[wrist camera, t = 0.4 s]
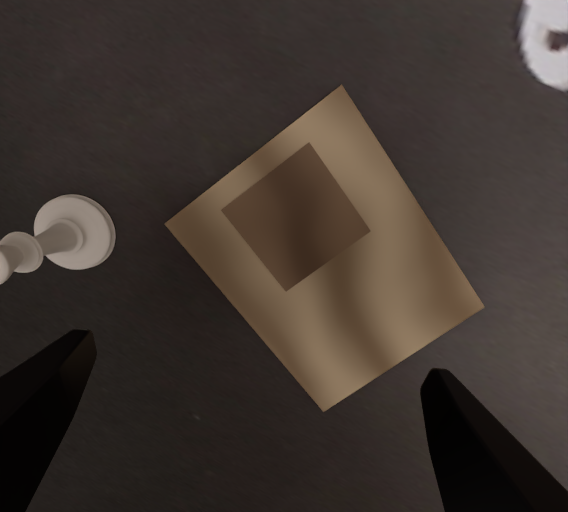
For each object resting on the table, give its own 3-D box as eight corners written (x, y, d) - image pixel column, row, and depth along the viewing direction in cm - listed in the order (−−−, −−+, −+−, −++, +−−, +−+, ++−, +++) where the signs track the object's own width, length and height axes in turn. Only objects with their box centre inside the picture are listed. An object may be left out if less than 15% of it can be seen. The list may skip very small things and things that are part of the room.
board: (322, 408, 28) (323, 412, 27) (165, 222, 24) (163, 224, 23) (481, 304, 26) (485, 307, 26) (340, 85, 22) (342, 84, 22)
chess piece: (34, 256, 24) (-123, 319, 15) (44, 184, 23) (-120, 201, 13) (108, 276, 25) (4, 349, 15) (122, 206, 24) (18, 238, 14)
